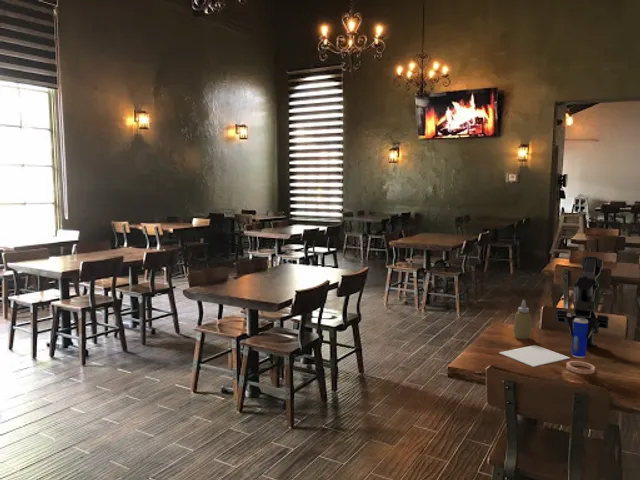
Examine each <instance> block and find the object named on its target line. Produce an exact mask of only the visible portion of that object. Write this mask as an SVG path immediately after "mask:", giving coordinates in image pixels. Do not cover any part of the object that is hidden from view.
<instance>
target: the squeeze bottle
mask: <svg viewBox="0 0 640 480" xmlns="http://www.w3.org/2000/svg"><path fill="white" fill-rule="evenodd" d="M526 302H527V301H526V300H525V299H523V300H522V302H521V305H520V306H519V307H518V308H517V311H516V312H515V316H514V323H513V328H512V330H513V333H514V337H515V338H516V339H519V340H528V339H530V337H531V336H530V335H532V334H531V333H532V315H531V313H530V312H529V311H530V308H529V307H527V303H526Z"/></svg>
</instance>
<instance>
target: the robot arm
mask: <svg viewBox="0 0 640 480" xmlns="http://www.w3.org/2000/svg"><path fill="white" fill-rule="evenodd" d="M603 264H604V260H603V259H601V258H599V256H593V255H587V256H584V257H583V258H581V265H580V267H581V269H582V273H580V274H579V277H578V278H576V281H575V284H574V285H575V288H576V293H577V296H576V301H575V304H574V308H573V309H574V310H573V313H574V314H573V313H569V312H568V310H566V309H557V310H556V312H555V316H556V317H555V319H556V322H558V323H564V325H566V326H567V327H568V329H569V333H570V336H571V338H573V324H574V319H575V318H585V319H587V320H588V333H587V348H590V347H594V346H595V347H596V346H597V343H594V337H595V334H596V335H597V334H600V333H599V332H600V329H608V328H609V323H610V322H609V320H610V319H609V316H608V315H607V314H606V315H604V314H597V315H596V314H595V312H594V311H595V309H596V301H595V292H596V290H597V289H599V286H600V283H599V282H598V280H597V279H598V277H599V276H600V274H601V270H603ZM599 328H600V329H599Z"/></svg>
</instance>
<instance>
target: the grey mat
mask: <svg viewBox="0 0 640 480" xmlns="http://www.w3.org/2000/svg"><path fill="white" fill-rule="evenodd" d="M498 354H500V355H501V356H505V357H507V358H509V359H512V360H514V361H517V362H520V363H522V364H523V365H524V364H525V365H527V366H530V367H532V368H535V367H539V366H544V365H548V364H553V363H556V362H557V363H558V362H561V361H565V360H569V359H571V357H569V356H566V355H564V354H562V353H558V352H557V351H556V352H555V351H552V350H550V349H547V348H544V347H542V346H539V345H536V344H534V345H529V346H524V347H520V348H519V347H518V348H516V349H509V350H506V351H499V353H498Z"/></svg>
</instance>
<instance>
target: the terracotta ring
mask: <svg viewBox="0 0 640 480" xmlns="http://www.w3.org/2000/svg"><path fill="white" fill-rule="evenodd" d="M565 365H566V367H565V368H566V369H567V370H568V371H570V372H572V373H576V374H582V375H591V374H595V371H596V367H595V366H594V365H593V364H591V363H588V362H587V361H586V362H584V361H580V360H579V361H578V360H570V361H567V362H566V364H565ZM575 366H576V367H575ZM577 366H580V367H583V368H577ZM584 367H585V368H586V369H584Z"/></svg>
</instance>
